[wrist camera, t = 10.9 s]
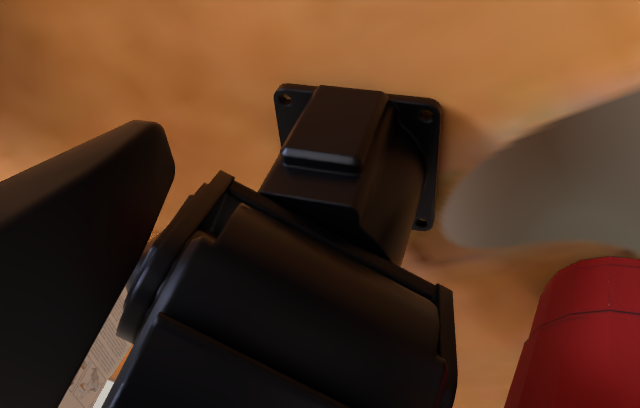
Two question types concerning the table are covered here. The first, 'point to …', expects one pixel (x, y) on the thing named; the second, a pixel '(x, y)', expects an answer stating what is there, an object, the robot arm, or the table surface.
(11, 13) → the table surface
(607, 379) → the plastic cup
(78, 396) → the ink cartridge box
